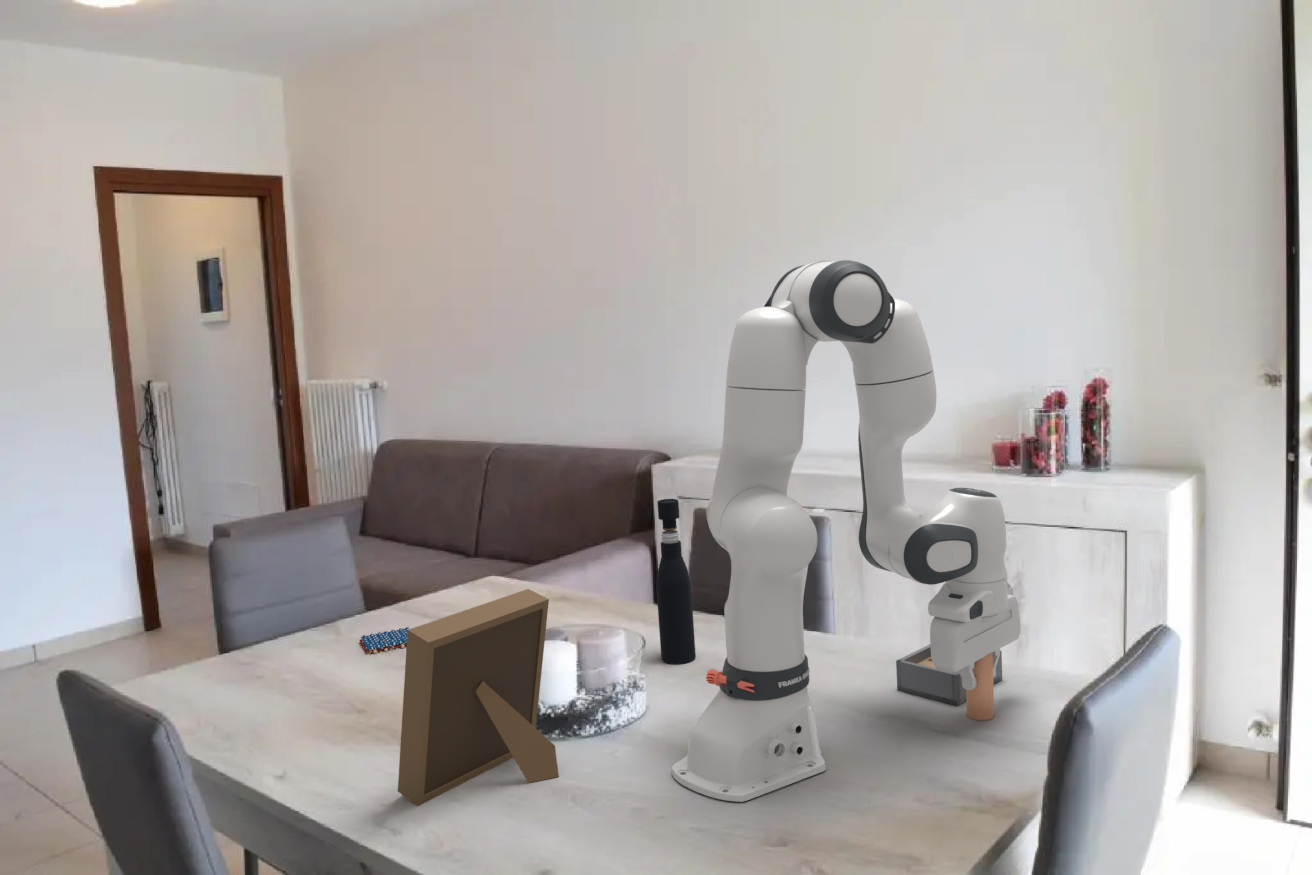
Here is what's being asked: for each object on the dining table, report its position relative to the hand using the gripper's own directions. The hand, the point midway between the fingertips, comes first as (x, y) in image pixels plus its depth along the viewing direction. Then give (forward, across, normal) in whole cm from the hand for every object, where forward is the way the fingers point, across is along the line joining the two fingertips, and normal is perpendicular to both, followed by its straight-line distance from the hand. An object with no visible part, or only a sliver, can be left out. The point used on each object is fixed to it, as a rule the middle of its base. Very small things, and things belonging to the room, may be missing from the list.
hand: (979, 682), depth 152 cm
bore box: (+5, -8, -10) cm, 14 cm away
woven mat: (+6, +40, -112) cm, 119 cm away
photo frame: (+5, +61, -41) cm, 74 cm away
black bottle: (+5, +10, -56) cm, 57 cm away
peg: (+5, 0, 0) cm, 5 cm away
